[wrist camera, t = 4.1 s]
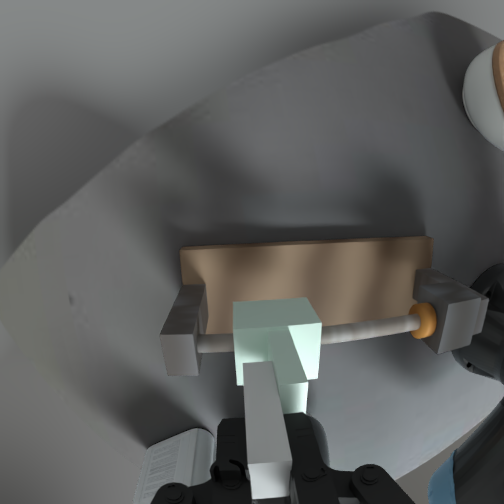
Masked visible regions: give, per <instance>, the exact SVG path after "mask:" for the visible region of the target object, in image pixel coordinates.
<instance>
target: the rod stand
mask: <svg viewBox="0 0 504 504" xmlns="http://www.w3.org/2000/svg"><path fill="white" fill-rule="evenodd" d="M433 241H434V239H433V238H430V237H427V236H411V237H384V238H359V239H335V240H312V241H290V242H268V243H247V244H227V245H208V246H188V247H182V248H181V249H180V250H179V252H180V263H181V273H182V282H183V285H182V287H181V290H180V292H179V294H178V296H177V298H176V300H175V302H174V304H173V307H172V309H171V311H170V313H169V315H168V317H167V320H166V322H165V324H164V326H163V328H162V330H161V333H160V340H161V345H162V350H163V355H164V360H165V365H166V370H167V374H168V376H199V371H200V365H201V359H202V353H212V352H235V351H234V337H233V302H241V301H259V300H275V299H289V298H303V297H306V298H307V299H308V301H309V302H310V304H311V306H312V307H313V309H314V311H315V312H316V314H317V316H318V317H319V319H320V321H321V322H322V328H321V343H320V345H322V344H330V343H338V342H346V341H353V340H360V339H366V338H373V337H379V336H385V335H391V334H396V333H402V332H407V331H410V332H411V334H412V336H413V337H414V338H416V339H421V340H422V341H423V342H424V343H426V344H427V345H428V346H429V347H430V348H431V349H432V350H433V351H434V352H435V353H436V354H441V353H444V352H448V351H451V350H455V349H458V348H461V347H464V346H468V345H470V343H471V339H472V335H475V334H478V333H481V331H482V327H483V323H484V319H485V315H486V311H487V306H488V302H489V298H487V297H486V296H484V295H482V294H480V293H478V292H476V291H474V290H473V289H471V288H469V287H467V286H465V285H463V284H461V283H459V282H457V281H456V280H454V279H452V278H450V277H448V276H446V275H444V274H442V273H440V272H438V271H436V270H434V269H432V268H431V263H432V253H433Z"/></svg>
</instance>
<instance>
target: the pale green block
mask: <svg viewBox="0 0 504 504" xmlns="http://www.w3.org/2000/svg"><path fill="white" fill-rule="evenodd" d="M321 328H322V322H321V321H320V319H319V317H318V316H317V314H316V312H315V311H314V309H313V307H312V306H311V304H310V302H309V301H308V299H307V298H306V297H303V298H289V299H275V300H259V301H241V302H233V337H234V351H235V363H236V376H237V385H244V383H243V363H249V362H264V361H272V363H273V368H274V373H275V378H276V383H277V388H278V393H279V398H280V402H281V407H282V412H283V414H289V413H297V412H304V413H305V414H306V404H307V393H308V380H309V379H316V378H318V368H319V356H320V343H321Z"/></svg>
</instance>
